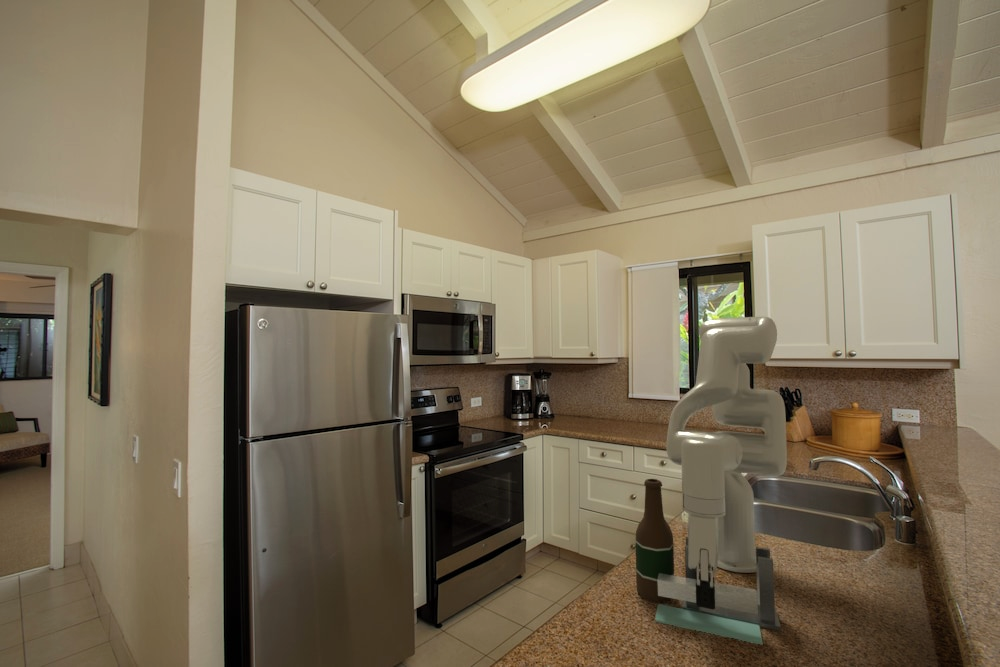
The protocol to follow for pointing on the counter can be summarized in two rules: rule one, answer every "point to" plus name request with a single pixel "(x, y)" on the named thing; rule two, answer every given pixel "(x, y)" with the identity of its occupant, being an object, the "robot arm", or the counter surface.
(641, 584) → the beer bottle
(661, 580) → the rail
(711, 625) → the mat
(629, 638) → the counter surface
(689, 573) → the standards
